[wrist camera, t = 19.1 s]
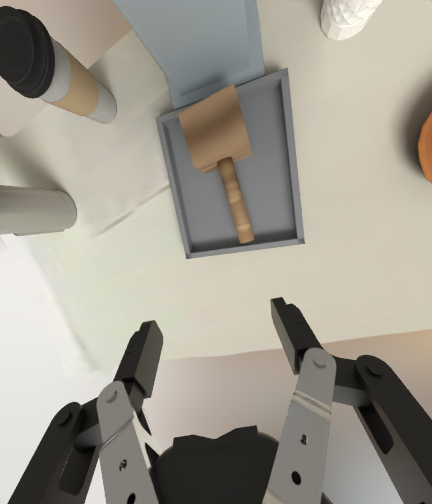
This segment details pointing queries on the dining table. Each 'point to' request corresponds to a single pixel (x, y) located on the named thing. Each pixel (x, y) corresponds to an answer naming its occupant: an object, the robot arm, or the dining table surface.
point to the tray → (240, 177)
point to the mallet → (220, 147)
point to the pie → (426, 148)
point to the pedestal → (199, 43)
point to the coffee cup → (48, 68)
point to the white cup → (346, 17)
